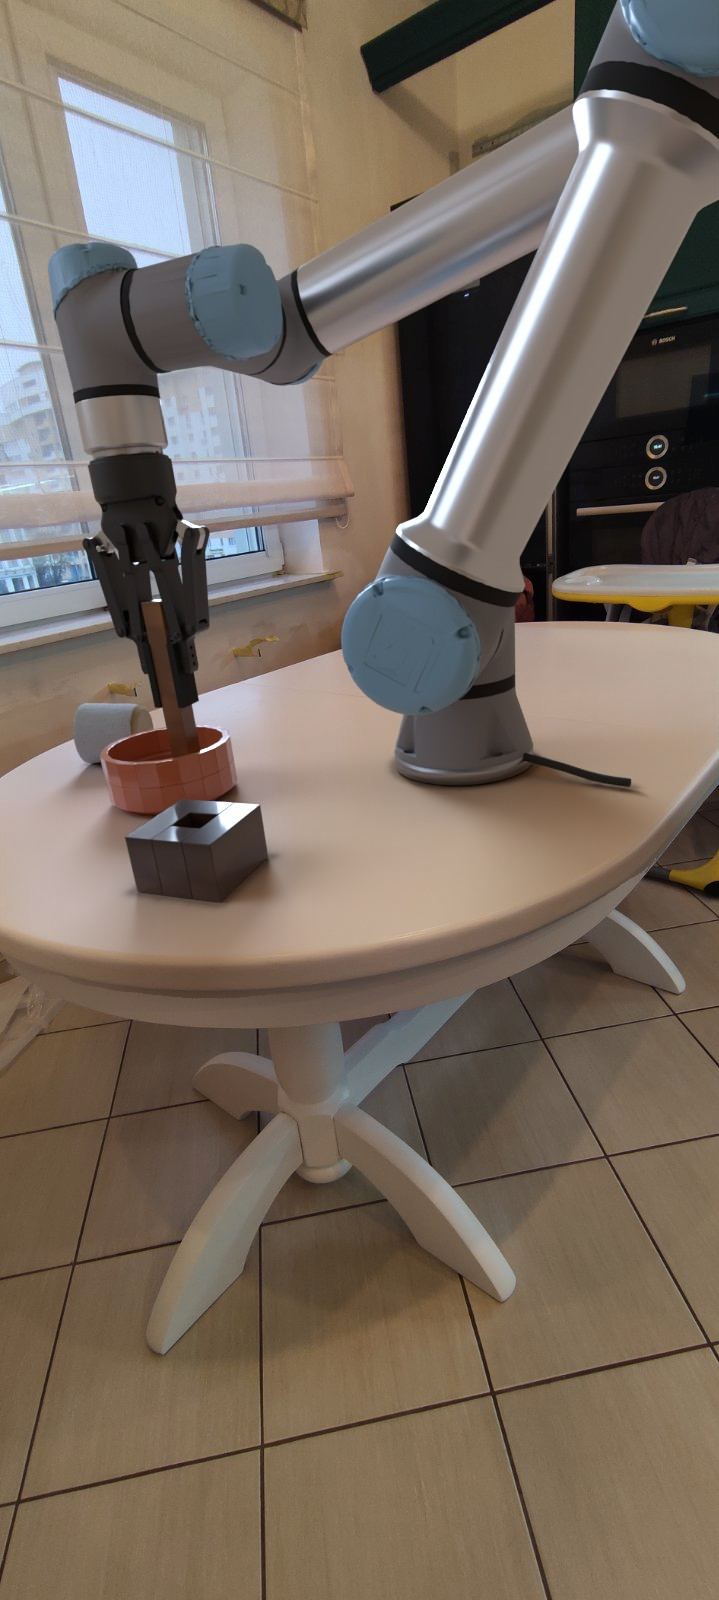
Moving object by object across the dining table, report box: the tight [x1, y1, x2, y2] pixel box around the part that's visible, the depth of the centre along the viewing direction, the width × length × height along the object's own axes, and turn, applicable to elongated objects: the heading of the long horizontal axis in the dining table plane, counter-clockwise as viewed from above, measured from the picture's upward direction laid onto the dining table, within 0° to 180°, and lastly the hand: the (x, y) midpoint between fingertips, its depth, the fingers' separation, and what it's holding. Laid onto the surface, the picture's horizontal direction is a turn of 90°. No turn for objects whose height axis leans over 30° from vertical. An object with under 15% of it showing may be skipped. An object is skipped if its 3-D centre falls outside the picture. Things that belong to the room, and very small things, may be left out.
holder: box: [124, 799, 269, 903], centre depth 60 cm, size 8×8×5 cm
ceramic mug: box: [72, 702, 155, 764], centre depth 94 cm, size 11×8×8 cm
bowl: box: [100, 724, 238, 815], centre depth 79 cm, size 14×14×6 cm
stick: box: [141, 598, 201, 758], centre depth 75 cm, size 2×2×18 cm
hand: (177, 703), depth 75 cm, fingers closed on stick, 2 cm apart
